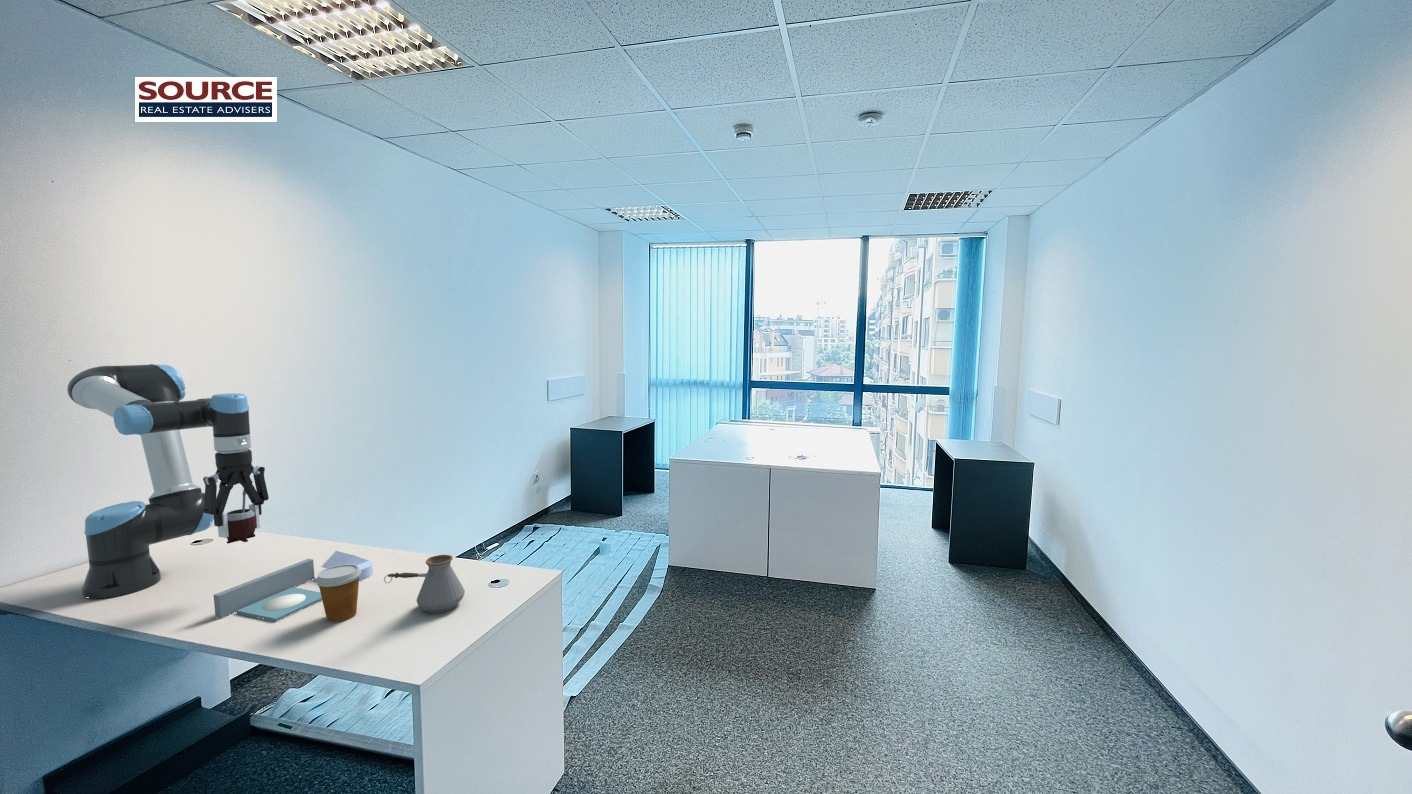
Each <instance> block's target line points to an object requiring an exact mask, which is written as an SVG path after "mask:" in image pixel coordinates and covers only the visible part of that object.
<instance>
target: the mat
mask: <svg viewBox="0 0 1412 794" xmlns="http://www.w3.org/2000/svg"><path fill="white" fill-rule="evenodd" d="M321 600H322V597H321V592H320V591H316V590H309V589H305V588H299V587H292V588H289V589H287V590H285V591H282V592H280V593H277V594H275V595H273V596H270V597H268V598H266V599H263V600H261V601H258V602H256V603H254V604H251V605H249V606H247V607H244V608H242V609H239V610H237V612H236V613H239V614H238V615H242V614H244V615H243V616H246V615H248V616H247V617H251V616H253V618H256V617H259V618H258V619H261V618H264V619H263V620H265V619H268V620H267V621H270V620H273V621H272V622H275V621H277V622H279V621H281V620H283V619H285V618H284V617H286V616H288V615H290V614H292V613H294V612H296V613H298V612H300V611H299V610H301V609H303V610H305V609H307V608H309V607H311V606H314V605H315V603H316V604H318V603H320V602H322V601H321ZM317 602H318V603H317ZM310 605H311V606H310ZM308 606H309V607H308ZM306 607H307V608H306ZM304 608H305V609H304ZM297 611H298V612H297ZM301 611H302V610H301ZM294 614H295V613H294ZM292 615H293V614H292ZM290 616H291V615H290ZM288 617H289V616H288ZM282 618H283V619H282ZM286 618H287V617H286ZM280 619H281V620H280ZM278 620H279V621H278Z"/></svg>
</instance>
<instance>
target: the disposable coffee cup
mask: <svg viewBox="0 0 1412 794" xmlns="http://www.w3.org/2000/svg"><path fill="white" fill-rule="evenodd" d="M360 574H361V570H360V569H359V566H358V565H355V564H344V565H338V566H333V567H330V568H327V569H326V568H324V569H323V570H321V571H319V573H318V574H317V576H316V577H317V578H316V579H315V582H316V584H317V586H318V587H319V592H321V597H322V601H321V602H322V606H323V609H324V613H325V617H326V618H325V619H326V621H327V622H329V623H339V622H340V623H341V622H344V621H347V620H350V619H352V618H353V617H355V616H356V615H357V611H358V610H357V609H358V597H359V584H360V582H359V577H360Z"/></svg>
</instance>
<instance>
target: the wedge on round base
mask: <svg viewBox="0 0 1412 794" xmlns="http://www.w3.org/2000/svg"><path fill="white" fill-rule="evenodd" d="M344 564H355V565H358V566H359V569H360V570H361V574H360V577H359V581H360V582H363V581H365V580H364V579H366V580H368V579H370V578H371V577H372V576H373V575H372V574H374V568H373V562H372V561H371V560H370V559H369V560H368V559H366V558H362V557H360V556H356V555H354V554H351V553H347V552H346V553H345V552H343V551H339V550H335V551H334V552H333V554H331V555H330V557H329V558H328V559H327V560H326V561H325V562H324V563H322V565H320V566H321V568H323V569H327V568H330V567H333V566H338V565H344ZM370 576H371V577H370ZM369 577H370V578H369ZM367 578H368V579H367ZM362 580H363V581H362Z"/></svg>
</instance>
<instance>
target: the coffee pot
mask: <svg viewBox="0 0 1412 794" xmlns="http://www.w3.org/2000/svg"><path fill="white" fill-rule="evenodd" d="M452 561H453V555H450V554H438V555H434V556H430V557H428V558H427V559H426V560H425V564H426V565H427V567H428V569H427V572H426V573H425V572H424V573H421V572H420V573H418V572H417V573H416V572H401V573H400V572H395V573H394V572H393V573H389V574H386V575H385V576H384V578H383V581H384V583H385V584H390V583H391V582H392V581H393V578H395V579H398V578H401V579H402V578H403V579H408V578H418V577H419V578H424V580H423V582H422V585H421V587H420V590H419V593H418V595H417V598H416V602H417V605H418V607H419V608H420V609H423V610H424V611H426V612H427V613H431V614H438V613H439V614H440V613H444V612H447V611H451V610H452V609H454V608H455V607H457V605H458V604H459V603H460V602H461V601H462V600H463V598H464V595H465V593H466V591H465V589H464V586H463V585H462V583H461V581H460V579H459V577H458V576H457V574H456V573H455V571H454V569H453V567H452V565H451V563H452ZM387 577H389V578H390V581H388V582H387V581H386V578H387Z"/></svg>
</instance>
